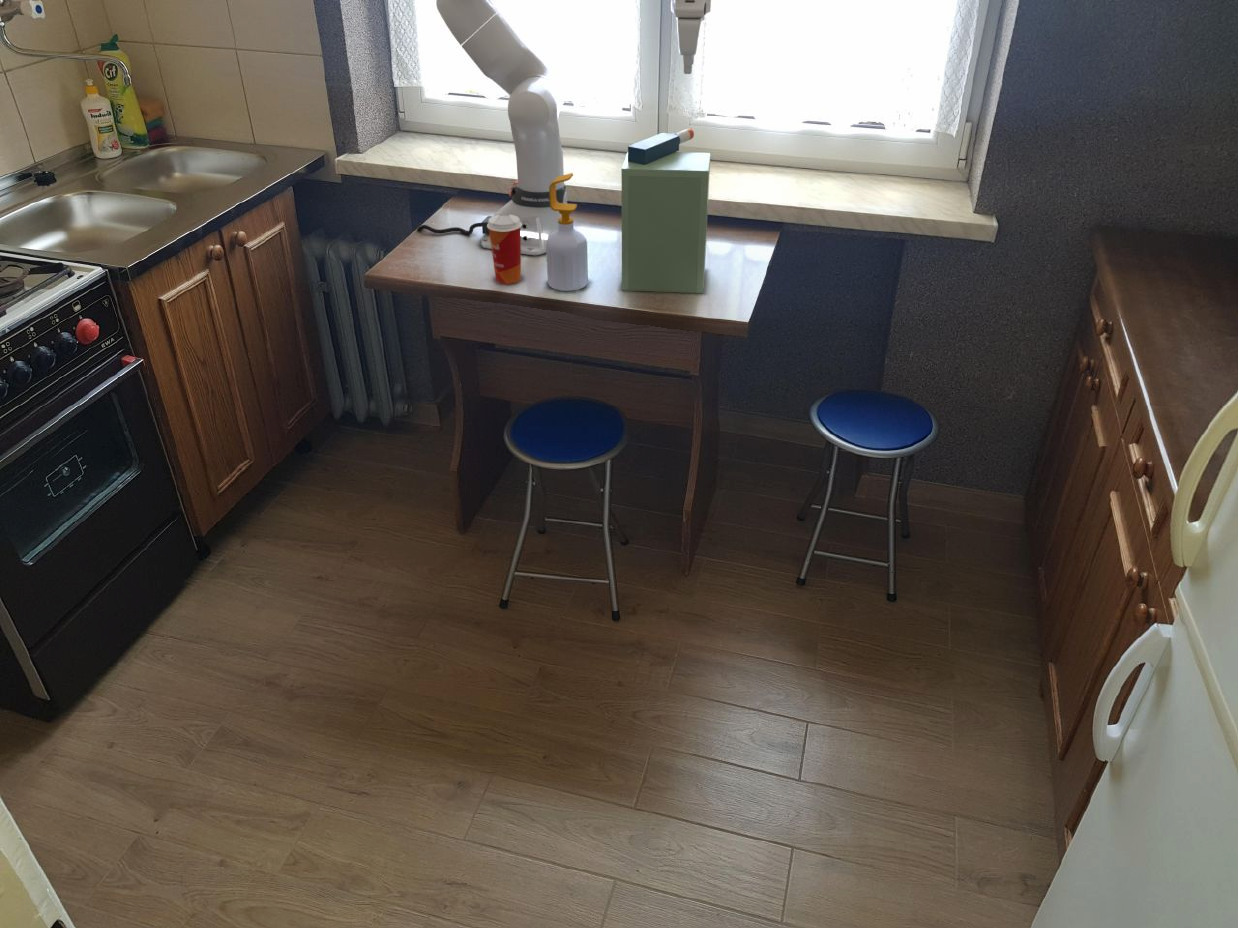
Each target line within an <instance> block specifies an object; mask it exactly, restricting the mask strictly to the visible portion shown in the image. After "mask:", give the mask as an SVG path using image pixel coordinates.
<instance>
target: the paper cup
mask: <svg viewBox="0 0 1238 928" xmlns="http://www.w3.org/2000/svg"><path fill="white" fill-rule="evenodd" d="M492 216H493V217H491V218H490V219H489V221H488V224H487V228H488V229H489V234H490V241H491V248H492V249H491V254H492V262H493V269H494V275H495V280H496V282H498V283H499V284H504V285H512V284H516V283H518V282H520V281H521V278H522V254H521V226H522V223H521V222H520V219H519V218H518V217H517V216H514V215H509V216H507V215H502V216H499V215H497V216H494V215H492Z"/></svg>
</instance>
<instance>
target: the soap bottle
mask: <svg viewBox="0 0 1238 928" xmlns="http://www.w3.org/2000/svg"><path fill="white" fill-rule="evenodd" d="M573 176H574V173H573V172H570V173H568V174H564V175H562V176H559V177H557V178H556V179H555V180H554V181H553V182H552V183H551V185H550V186H549V196H550V207H551V209H552V210H554V211H559V213H560V214H562V218H559V219H558V230H557V231H555V232H553V233H552V234H551V235H550V236H549V237H548V238H547V242H546V253H545V255H546V271H547V274H546V275H547V285H548V286H549V288H552V289H554V290H557V291H562V292H571V291H572V292H573V291H574V292H575V291H578V290H581V289H583V288H585V287H586V286H587V285H589V284H588V283H589V268H588V267H589V264H588V263H589V261H588V240H587V238H586V236H585V235H584V234H583V233H582V232H580V231H579V230H577V229H575V228H574V226H575V225H574V218H573V217H571V216H570V215H571V214H573V212H575V210H576V209H577V208H578V204H577V203H568V202H567V203H558V201H557V199H556V184H557V183H561V182H564V183H565V182H567V181H569V180H571V179H572V177H573Z"/></svg>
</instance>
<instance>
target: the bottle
mask: <svg viewBox="0 0 1238 928" xmlns="http://www.w3.org/2000/svg"><path fill="white" fill-rule="evenodd" d="M694 132H695V131H694V130H693V129H692V128H690V127H689V128H686V129H682V130H681V131H678V132H672V133H667V132H661V133H658V134H655V135H653V136H650V137H647V138H645V139H643V140H640V141H638V142H635V143H632V144H630V145H628V146H627V152H628V162H633V163H638V164H642V165H646V164H649V163H651V162H653V161H656V160H658V159H660V158H663V157H665V156H667V155H670V154H672V153H674V152H680V145H681V144H683V143H686V142H688V141H690V140H692V139H693V138H694V136H695V133H694Z"/></svg>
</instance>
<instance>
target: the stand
mask: <svg viewBox="0 0 1238 928" xmlns="http://www.w3.org/2000/svg"><path fill="white" fill-rule="evenodd" d="M710 168H711V152H690V151H689V152H688V151H677V152H674V153H672V154H670V155H667V156H665V157H663V158H660V159H658V160H656V161H653V162H651V163H649V164H646V165H642V164H638V163H633V162H628V151H627V152H626V155H625V157H624V160H623V164H622V166H621V291H633V292H657V293H659V292H661V293H685V294H704V284H705V272H706V255H707V233H708V215H709V214H708V213H709V194H710V193H709V192H710V191H709V190H710V175H711V174H710V173H711V171H710V170H711V169H710Z"/></svg>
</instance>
